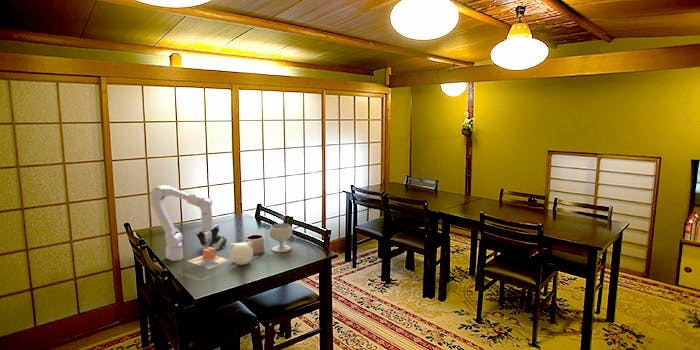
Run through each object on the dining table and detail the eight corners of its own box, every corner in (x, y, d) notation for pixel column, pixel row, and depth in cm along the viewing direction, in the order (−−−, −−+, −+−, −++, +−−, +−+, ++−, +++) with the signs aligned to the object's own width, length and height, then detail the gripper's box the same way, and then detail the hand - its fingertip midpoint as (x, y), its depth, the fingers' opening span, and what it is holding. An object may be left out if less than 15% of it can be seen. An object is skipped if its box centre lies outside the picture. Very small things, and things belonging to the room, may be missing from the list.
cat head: (227, 270, 204) (226, 248, 202) (228, 261, 216) (227, 240, 214) (256, 267, 208) (255, 245, 206) (255, 258, 221) (254, 238, 219)
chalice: (265, 251, 232) (264, 227, 230) (279, 244, 244) (278, 221, 242) (283, 255, 226) (282, 230, 223) (297, 247, 238) (296, 224, 235)
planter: (242, 253, 229) (241, 237, 228) (256, 247, 238) (255, 233, 236) (254, 256, 223) (254, 241, 222) (268, 251, 232) (267, 236, 231)
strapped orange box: (202, 257, 219) (202, 249, 218) (210, 254, 223) (209, 246, 222) (208, 259, 216) (207, 250, 215) (215, 256, 220) (215, 248, 219)
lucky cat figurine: (222, 253, 229) (208, 235, 223) (205, 259, 231) (192, 242, 226) (230, 238, 242) (218, 221, 237) (214, 244, 245) (202, 227, 239)
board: (187, 263, 214) (186, 256, 213) (208, 255, 225) (208, 249, 225) (208, 270, 204) (208, 264, 203) (229, 262, 215) (229, 255, 214)
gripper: (200, 224, 208) (201, 247, 210) (222, 218, 219) (223, 240, 222) (192, 222, 211) (193, 245, 214) (214, 216, 223) (215, 238, 226)
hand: (208, 242), depth 218 cm, fingers open, 7 cm apart
